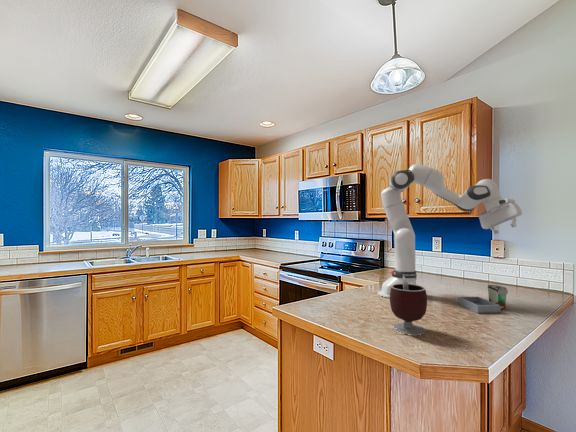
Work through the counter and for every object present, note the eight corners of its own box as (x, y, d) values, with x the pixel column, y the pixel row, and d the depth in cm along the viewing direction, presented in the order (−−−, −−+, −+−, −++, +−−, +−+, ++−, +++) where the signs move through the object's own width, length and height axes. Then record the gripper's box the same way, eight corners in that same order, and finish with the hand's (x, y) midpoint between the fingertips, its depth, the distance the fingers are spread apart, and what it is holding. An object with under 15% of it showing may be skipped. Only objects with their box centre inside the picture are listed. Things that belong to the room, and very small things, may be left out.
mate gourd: (432, 337, 115) (431, 284, 115) (393, 335, 117) (392, 283, 117) (421, 323, 130) (420, 276, 130) (387, 322, 133) (386, 275, 133)
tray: (477, 313, 143) (477, 305, 144) (458, 303, 160) (458, 296, 160) (500, 313, 143) (500, 305, 144) (478, 303, 160) (478, 296, 160)
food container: (513, 311, 146) (513, 290, 146) (499, 310, 147) (498, 289, 147) (501, 304, 158) (500, 284, 158) (487, 303, 159) (487, 284, 160)
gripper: (474, 214, 174) (483, 237, 168) (510, 197, 157) (521, 222, 151) (481, 215, 176) (490, 237, 170) (517, 198, 159) (528, 223, 154)
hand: (505, 230), depth 160 cm, fingers open, 8 cm apart
